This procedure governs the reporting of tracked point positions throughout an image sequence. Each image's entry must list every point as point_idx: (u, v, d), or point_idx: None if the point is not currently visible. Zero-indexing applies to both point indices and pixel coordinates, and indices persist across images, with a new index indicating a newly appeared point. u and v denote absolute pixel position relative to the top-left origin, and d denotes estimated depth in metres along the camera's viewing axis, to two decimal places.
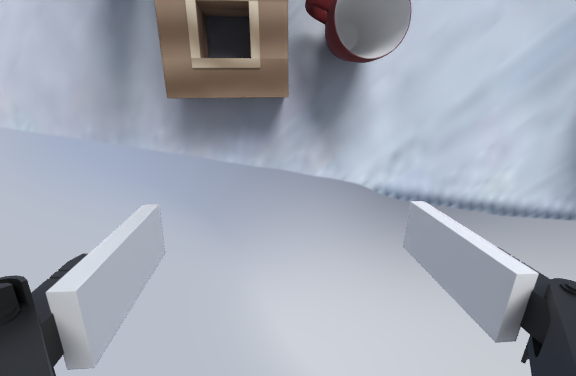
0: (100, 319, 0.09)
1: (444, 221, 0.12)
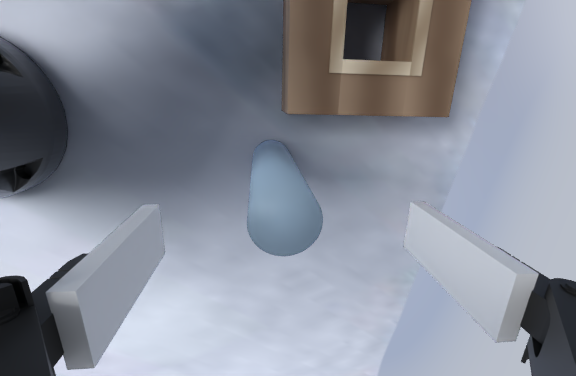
0: (100, 319, 0.09)
1: (444, 221, 0.12)
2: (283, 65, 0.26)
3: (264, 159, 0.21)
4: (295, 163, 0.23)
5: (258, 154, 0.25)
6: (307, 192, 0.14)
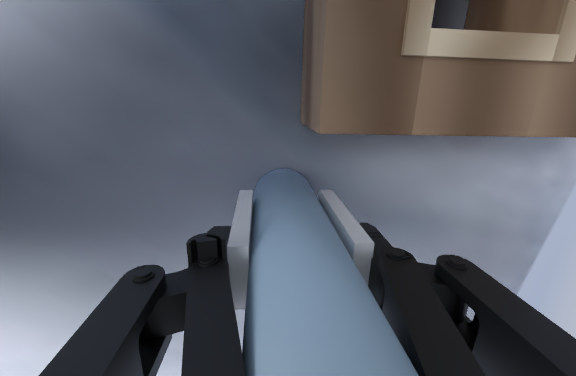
0: None
1: (334, 205, 0.14)
2: (306, 48, 0.15)
3: (276, 227, 0.10)
4: None
5: (263, 202, 0.14)
6: None
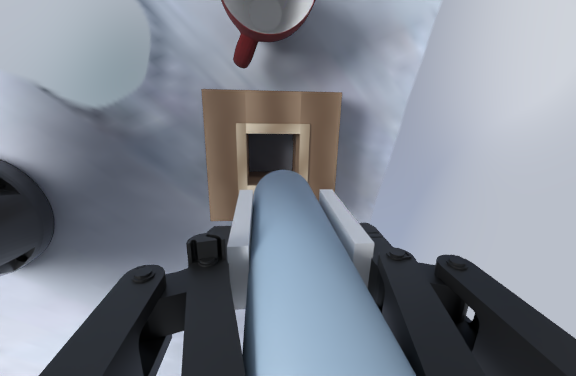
0: None
1: (334, 205, 0.14)
2: None
3: (276, 230, 0.11)
4: (332, 227, 0.12)
5: (263, 204, 0.14)
6: None
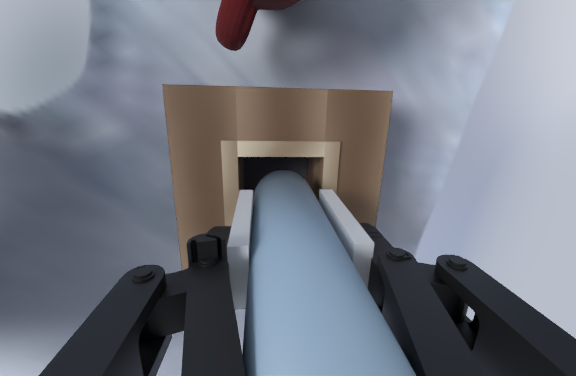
0: None
1: (334, 205, 0.14)
2: None
3: (276, 230, 0.11)
4: (332, 227, 0.12)
5: (263, 204, 0.14)
6: None
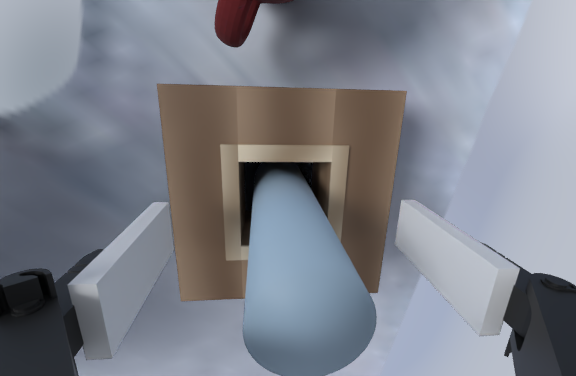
0: (117, 312, 0.09)
1: (432, 218, 0.13)
2: None
3: (271, 191, 0.15)
4: None
5: (262, 179, 0.18)
6: (351, 276, 0.08)
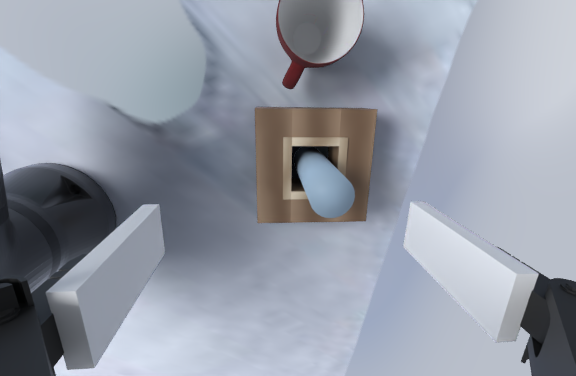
0: (100, 319, 0.09)
1: (444, 221, 0.12)
2: None
3: (310, 159, 0.31)
4: None
5: (302, 156, 0.34)
6: (345, 178, 0.24)
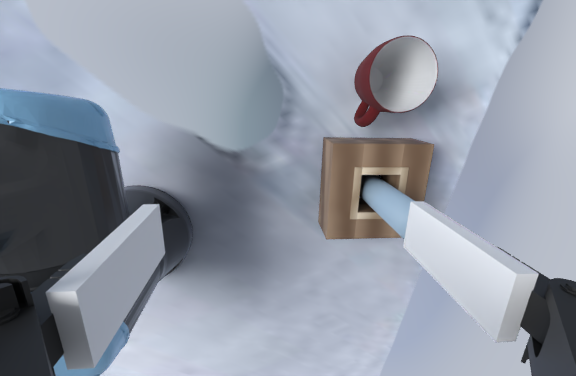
0: (100, 319, 0.09)
1: (444, 221, 0.12)
2: (321, 201, 0.44)
3: (380, 187, 0.37)
4: None
5: (367, 182, 0.40)
6: None
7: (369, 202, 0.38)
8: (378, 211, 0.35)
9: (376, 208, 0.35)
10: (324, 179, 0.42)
